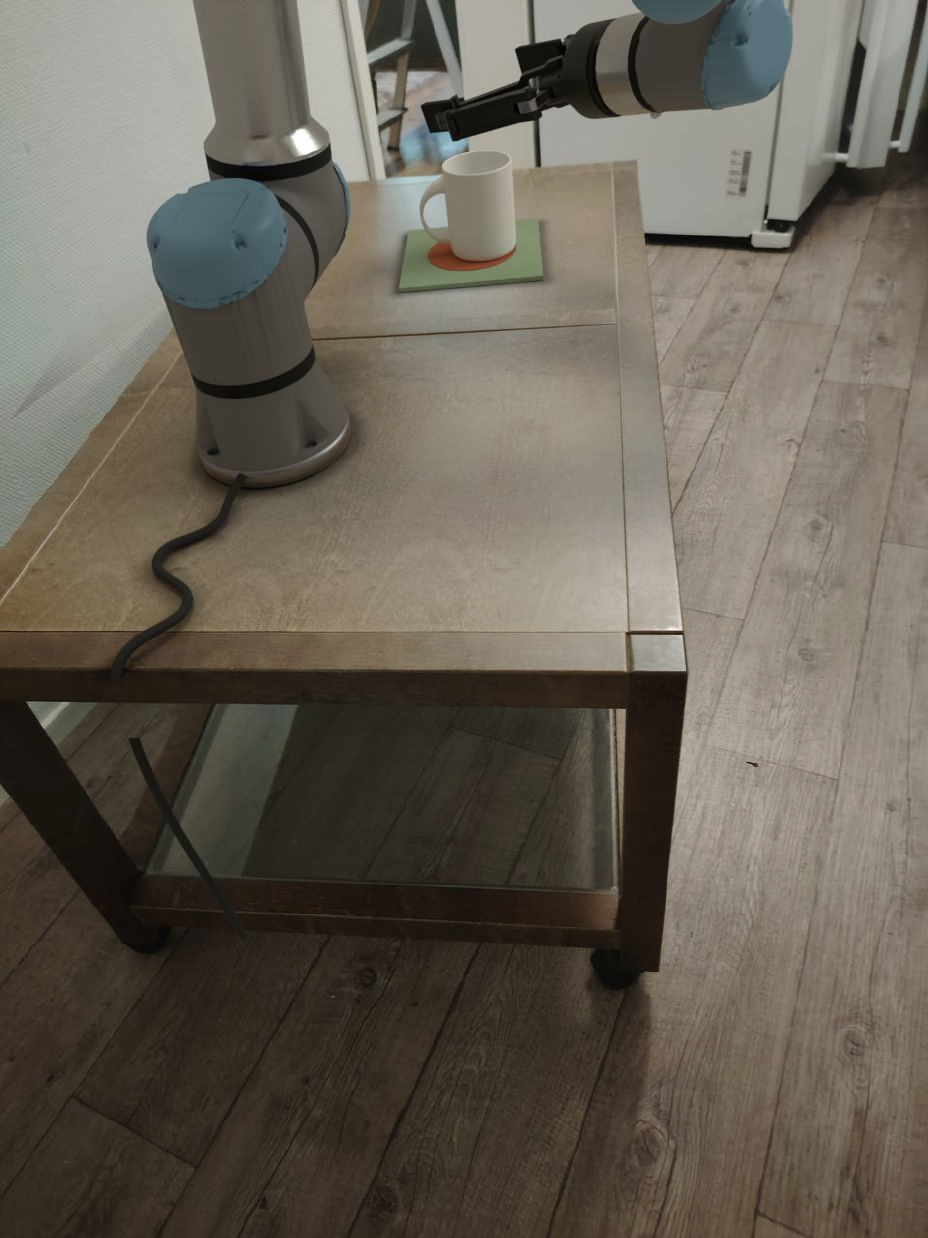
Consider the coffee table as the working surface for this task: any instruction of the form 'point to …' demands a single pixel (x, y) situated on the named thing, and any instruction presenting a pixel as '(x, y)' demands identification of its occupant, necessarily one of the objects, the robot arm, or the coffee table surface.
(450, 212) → the mug
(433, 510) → the coffee table surface
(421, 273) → the placemat
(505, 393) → the coffee table surface
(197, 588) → the coffee table surface
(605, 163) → the coffee table surface
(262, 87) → the robot arm
